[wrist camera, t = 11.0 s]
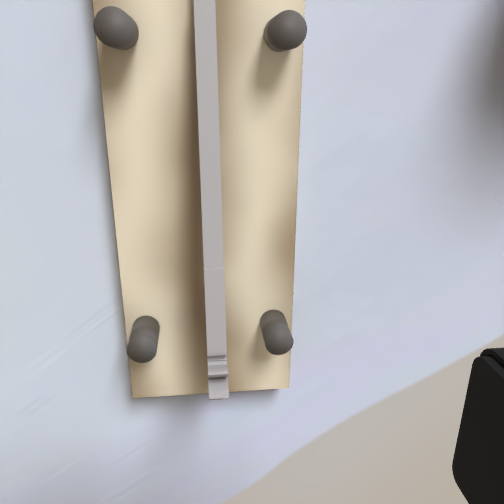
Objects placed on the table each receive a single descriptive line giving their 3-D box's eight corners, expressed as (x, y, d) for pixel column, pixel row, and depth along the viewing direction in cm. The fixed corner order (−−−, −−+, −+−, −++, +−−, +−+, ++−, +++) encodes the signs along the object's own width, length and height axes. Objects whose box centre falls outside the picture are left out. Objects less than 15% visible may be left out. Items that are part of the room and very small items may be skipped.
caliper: (224, 351, 29) (231, 421, 24) (206, 353, 29) (209, 422, 23) (214, -24, 22) (220, -58, 16) (190, -24, 22) (188, -58, 16)
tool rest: (299, -74, 23) (322, -105, 19) (283, 370, 33) (296, 413, 29) (91, -82, 22) (68, -117, 18) (136, 379, 32) (127, 425, 28)
